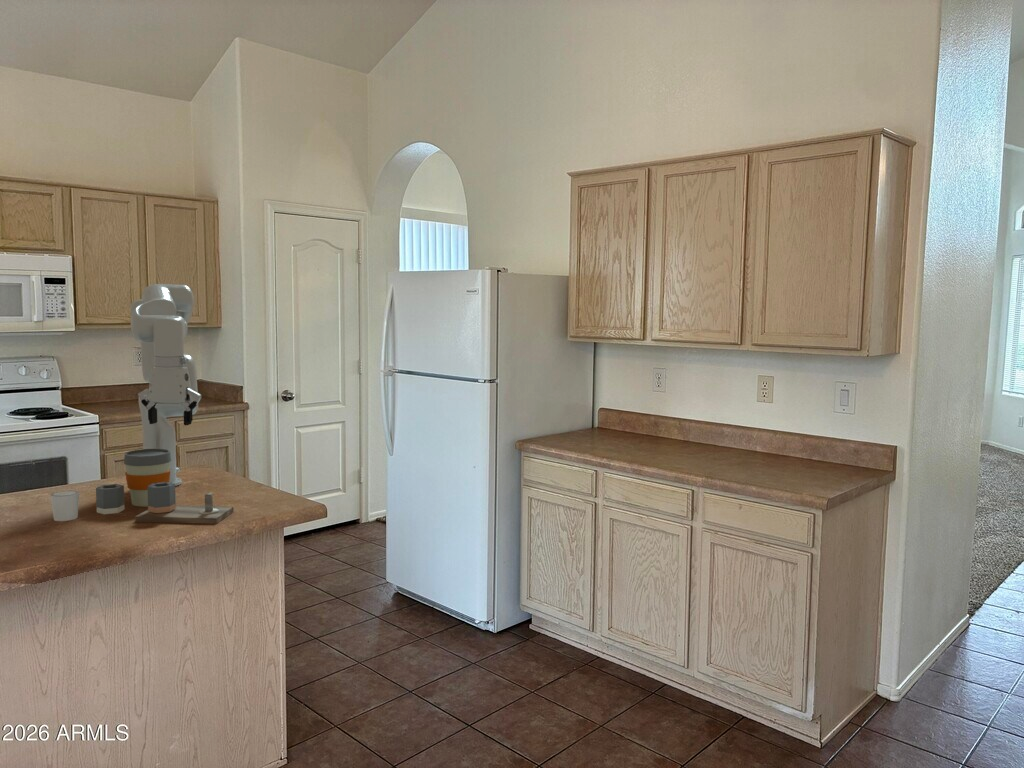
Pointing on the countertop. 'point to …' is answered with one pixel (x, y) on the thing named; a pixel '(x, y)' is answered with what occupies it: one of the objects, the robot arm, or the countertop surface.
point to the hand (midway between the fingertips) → (170, 423)
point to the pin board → (189, 514)
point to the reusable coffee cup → (146, 472)
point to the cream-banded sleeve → (110, 498)
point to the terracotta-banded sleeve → (161, 497)
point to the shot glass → (65, 505)
